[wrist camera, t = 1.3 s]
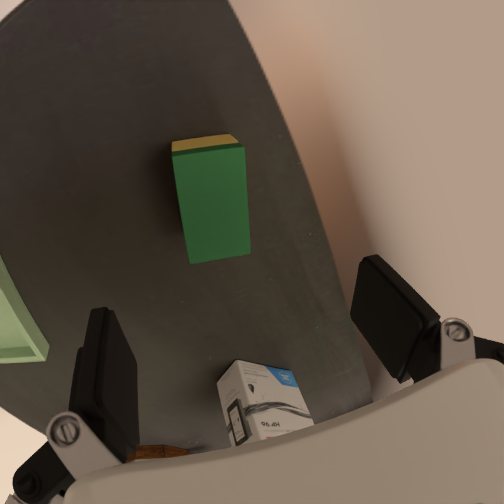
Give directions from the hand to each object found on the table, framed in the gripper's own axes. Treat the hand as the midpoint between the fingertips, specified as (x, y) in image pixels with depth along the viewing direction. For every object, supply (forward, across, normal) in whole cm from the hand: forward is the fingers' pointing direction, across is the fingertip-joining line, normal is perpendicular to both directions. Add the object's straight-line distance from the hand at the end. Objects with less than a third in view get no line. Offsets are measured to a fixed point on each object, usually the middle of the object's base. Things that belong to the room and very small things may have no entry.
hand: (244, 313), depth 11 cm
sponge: (+13, 0, -1) cm, 13 cm away
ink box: (+14, -3, +23) cm, 27 cm away
